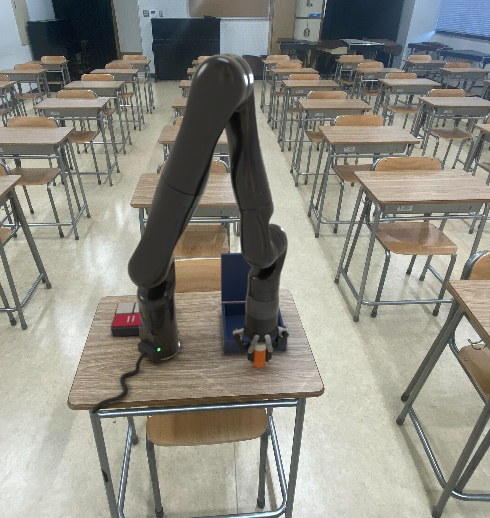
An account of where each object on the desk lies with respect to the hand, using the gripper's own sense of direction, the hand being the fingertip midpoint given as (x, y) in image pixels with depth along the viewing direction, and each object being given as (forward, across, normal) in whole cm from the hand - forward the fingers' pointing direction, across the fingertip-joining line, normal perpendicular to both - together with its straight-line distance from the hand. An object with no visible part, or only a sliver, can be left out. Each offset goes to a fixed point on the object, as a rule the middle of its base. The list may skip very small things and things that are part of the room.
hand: (259, 359), depth 99 cm
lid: (-10, 0, +20) cm, 23 cm away
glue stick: (+1, 0, 0) cm, 1 cm away
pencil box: (+4, 0, +13) cm, 13 cm away
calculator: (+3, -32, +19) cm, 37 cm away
